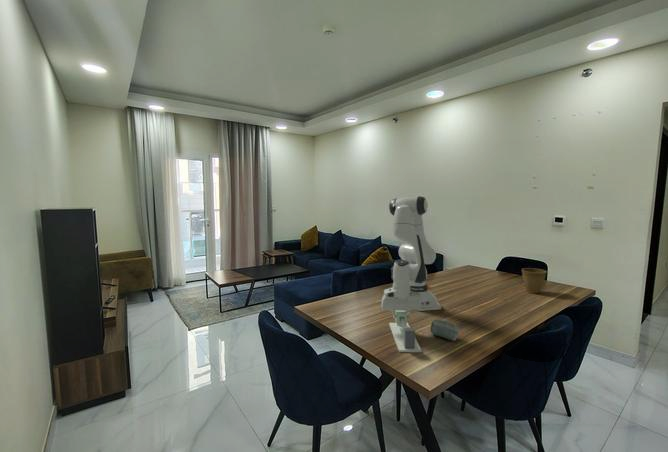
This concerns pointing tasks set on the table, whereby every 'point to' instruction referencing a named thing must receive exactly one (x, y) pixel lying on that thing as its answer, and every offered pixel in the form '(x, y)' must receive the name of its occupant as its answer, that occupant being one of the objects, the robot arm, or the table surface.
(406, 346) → the stand
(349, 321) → the table surface
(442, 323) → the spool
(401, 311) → the sleeve
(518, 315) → the table surface
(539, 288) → the plant pot
